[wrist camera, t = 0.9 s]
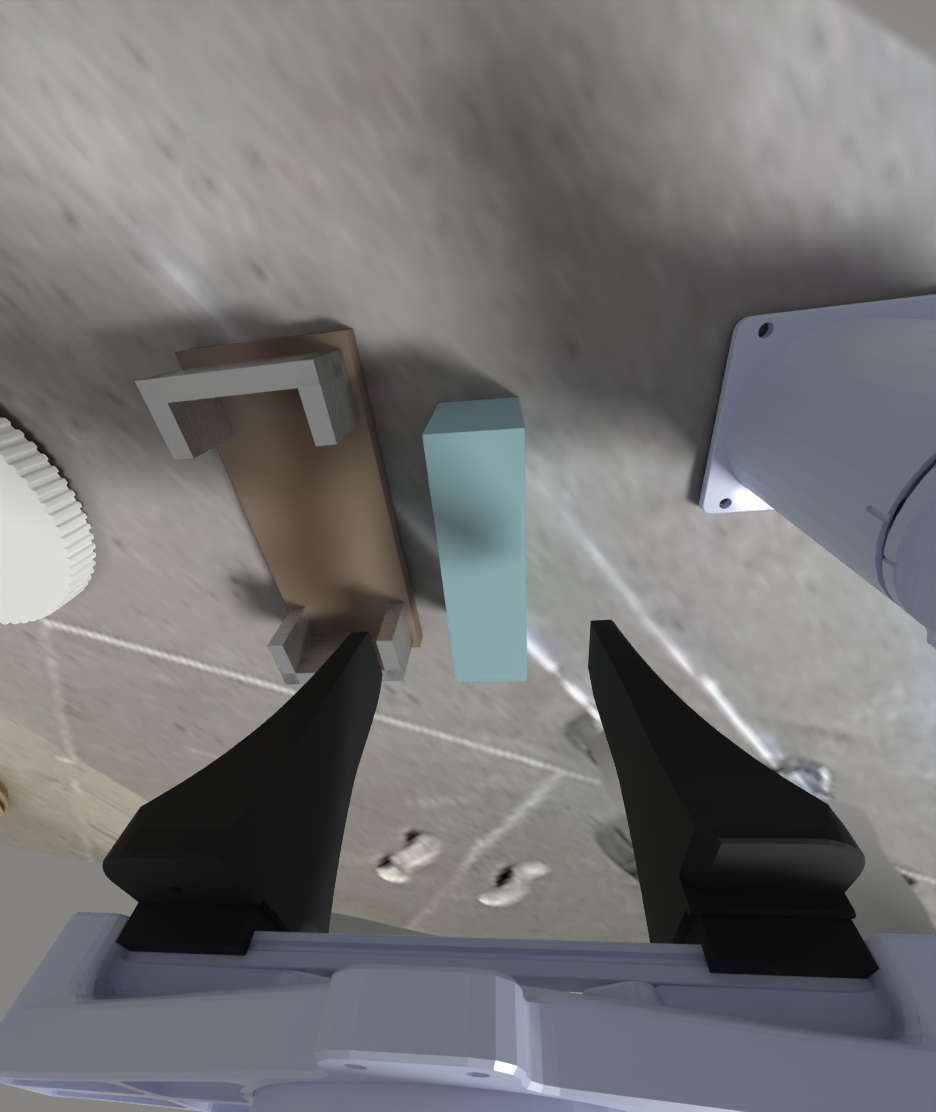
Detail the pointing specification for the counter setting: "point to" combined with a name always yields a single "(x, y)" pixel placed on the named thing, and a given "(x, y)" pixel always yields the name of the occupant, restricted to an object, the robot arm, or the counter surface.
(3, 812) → the toy sandwich meal
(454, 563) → the teal rectangular block
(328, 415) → the end caps
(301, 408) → the end cap board
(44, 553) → the plastic lid
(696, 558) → the counter surface
